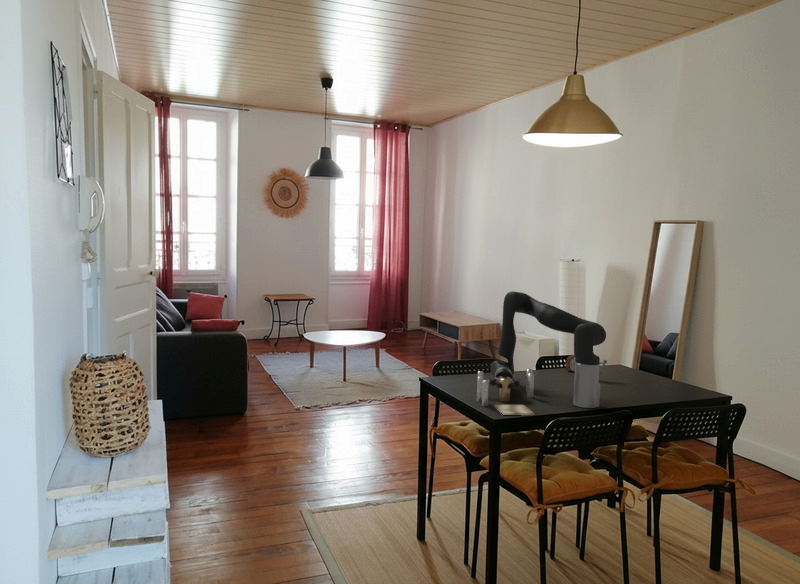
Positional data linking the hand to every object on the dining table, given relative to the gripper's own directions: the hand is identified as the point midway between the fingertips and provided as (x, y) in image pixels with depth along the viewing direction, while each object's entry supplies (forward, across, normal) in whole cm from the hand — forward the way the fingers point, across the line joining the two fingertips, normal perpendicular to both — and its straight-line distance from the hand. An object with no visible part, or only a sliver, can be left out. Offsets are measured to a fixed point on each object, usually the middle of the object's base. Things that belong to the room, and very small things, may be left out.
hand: (505, 386), depth 245 cm
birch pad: (+12, +3, +6) cm, 14 cm away
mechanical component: (-53, +44, +7) cm, 69 cm away
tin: (-72, +39, +7) cm, 83 cm away
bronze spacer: (-3, 0, +6) cm, 7 cm away
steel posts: (-6, +1, +7) cm, 9 cm away
